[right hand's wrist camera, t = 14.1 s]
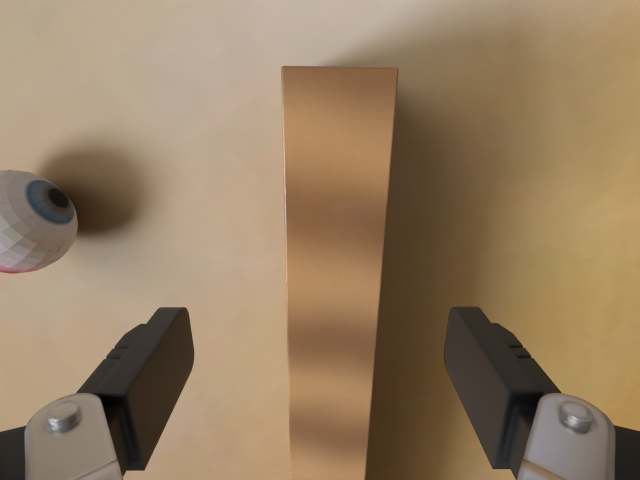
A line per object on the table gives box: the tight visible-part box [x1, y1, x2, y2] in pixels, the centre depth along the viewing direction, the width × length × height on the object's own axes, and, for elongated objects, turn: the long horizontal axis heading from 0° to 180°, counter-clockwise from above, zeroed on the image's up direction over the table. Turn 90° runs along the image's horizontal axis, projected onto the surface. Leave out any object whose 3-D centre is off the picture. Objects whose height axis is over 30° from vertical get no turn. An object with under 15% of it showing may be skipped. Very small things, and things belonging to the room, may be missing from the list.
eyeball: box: [0, 170, 78, 273], centre depth 22 cm, size 6×6×6 cm
